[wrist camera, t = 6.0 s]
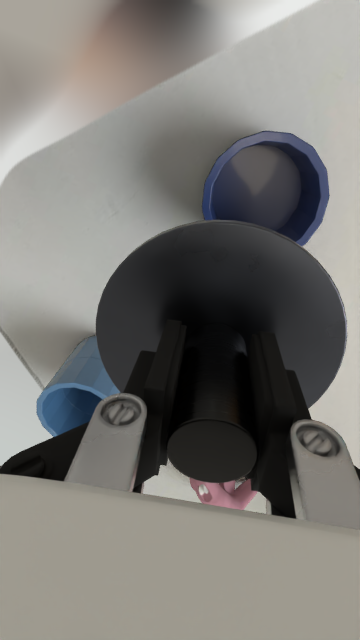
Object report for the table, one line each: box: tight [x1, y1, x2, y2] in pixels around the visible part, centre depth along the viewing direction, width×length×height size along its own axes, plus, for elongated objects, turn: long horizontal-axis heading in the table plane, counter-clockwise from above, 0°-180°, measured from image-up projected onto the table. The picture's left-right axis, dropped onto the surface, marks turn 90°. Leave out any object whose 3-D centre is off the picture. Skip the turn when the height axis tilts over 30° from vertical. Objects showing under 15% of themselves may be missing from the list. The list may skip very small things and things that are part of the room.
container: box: [202, 131, 329, 246], centre depth 26 cm, size 9×9×6 cm
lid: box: [96, 220, 347, 483], centre depth 11 cm, size 10×10×6 cm
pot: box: [37, 336, 120, 437], centre depth 35 cm, size 9×9×9 cm
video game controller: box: [190, 478, 257, 510], centre depth 43 cm, size 10×5×7 cm, turn 38°
